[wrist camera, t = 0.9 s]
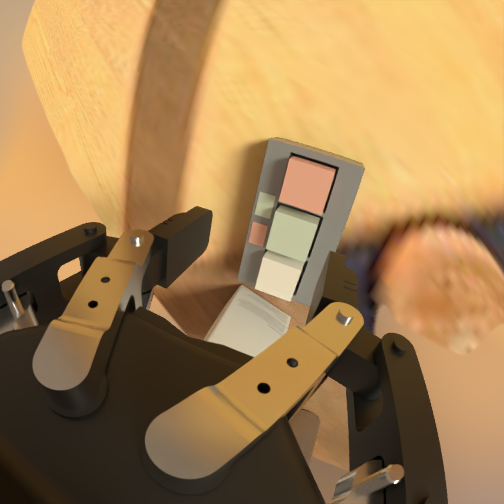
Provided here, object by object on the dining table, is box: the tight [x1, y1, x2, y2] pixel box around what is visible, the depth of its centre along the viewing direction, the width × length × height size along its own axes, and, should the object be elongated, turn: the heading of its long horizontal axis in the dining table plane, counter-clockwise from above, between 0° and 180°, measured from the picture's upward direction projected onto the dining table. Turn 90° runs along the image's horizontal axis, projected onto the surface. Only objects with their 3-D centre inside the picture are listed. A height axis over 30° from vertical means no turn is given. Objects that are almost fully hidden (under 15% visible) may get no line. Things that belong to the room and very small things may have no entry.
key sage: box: [266, 205, 320, 262], centre depth 26 cm, size 4×4×2 cm
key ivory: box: [255, 250, 304, 301], centre depth 29 cm, size 4×4×2 cm
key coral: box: [279, 156, 336, 216], centre depth 24 cm, size 4×4×2 cm
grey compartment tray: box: [237, 137, 365, 306], centre depth 28 cm, size 16×9×3 cm, turn 168°
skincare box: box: [203, 285, 291, 357], centre depth 31 cm, size 8×7×16 cm
